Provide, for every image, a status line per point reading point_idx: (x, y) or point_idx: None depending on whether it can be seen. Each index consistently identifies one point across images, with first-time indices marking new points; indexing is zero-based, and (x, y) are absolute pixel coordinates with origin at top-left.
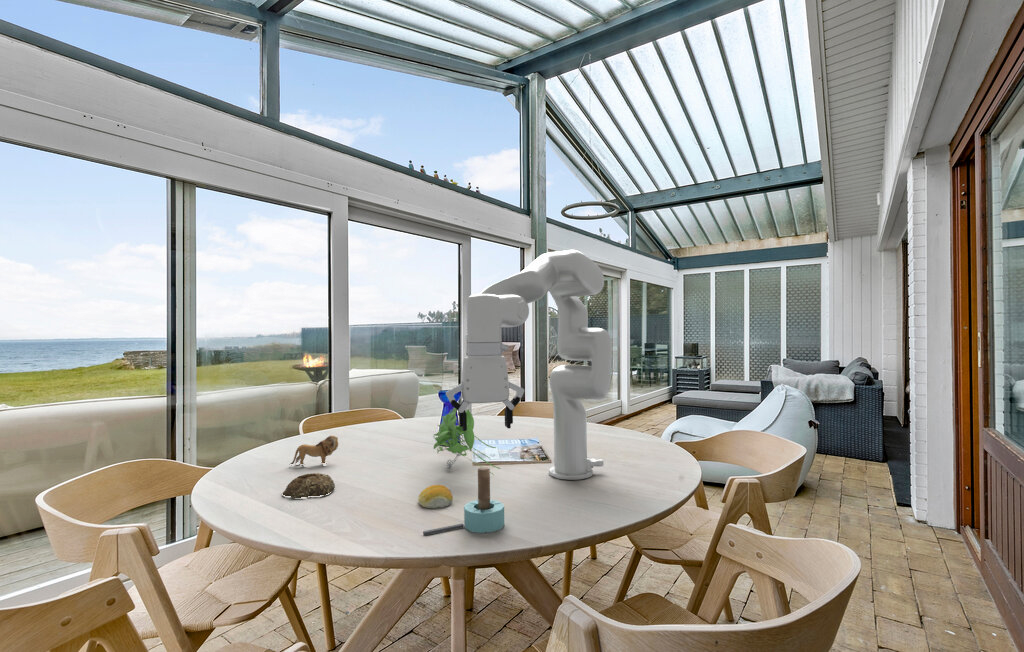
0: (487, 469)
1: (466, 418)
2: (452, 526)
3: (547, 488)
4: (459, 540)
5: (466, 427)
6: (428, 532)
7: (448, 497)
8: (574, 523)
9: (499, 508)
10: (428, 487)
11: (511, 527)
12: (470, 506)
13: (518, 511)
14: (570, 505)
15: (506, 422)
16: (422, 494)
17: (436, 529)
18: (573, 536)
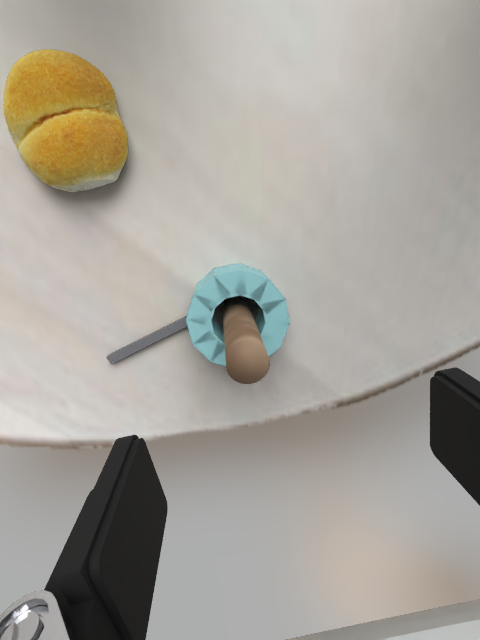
0: (261, 369)
1: (151, 595)
2: (166, 334)
3: (439, 4)
4: (191, 381)
5: (163, 526)
6: (119, 359)
7: (116, 166)
8: (429, 305)
9: (277, 338)
10: (18, 89)
11: (294, 323)
12: (203, 323)
13: (318, 226)
14: (458, 187)
15: (453, 451)
16: (17, 132)
17: (133, 348)
18: (407, 365)
